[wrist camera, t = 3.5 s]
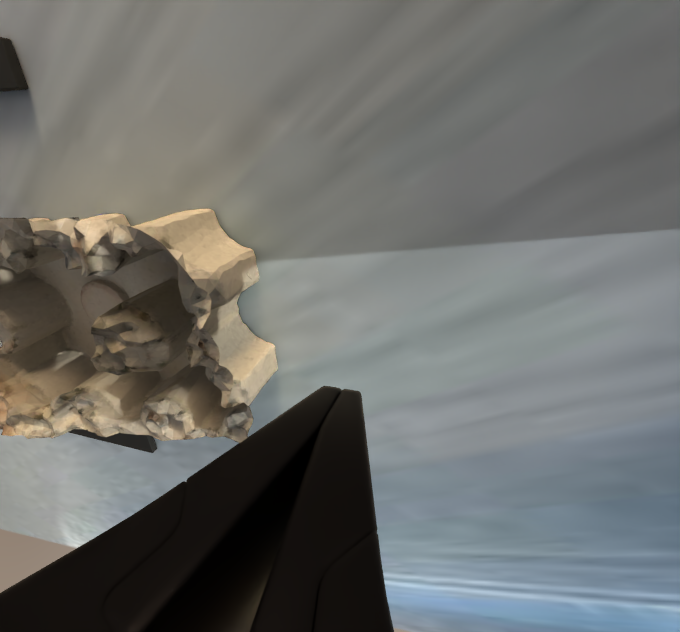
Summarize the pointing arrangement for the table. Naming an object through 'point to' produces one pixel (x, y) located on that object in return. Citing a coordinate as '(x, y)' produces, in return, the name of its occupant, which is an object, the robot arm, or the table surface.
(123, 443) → the bay strips
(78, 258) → the tan rough lump
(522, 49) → the table surface
